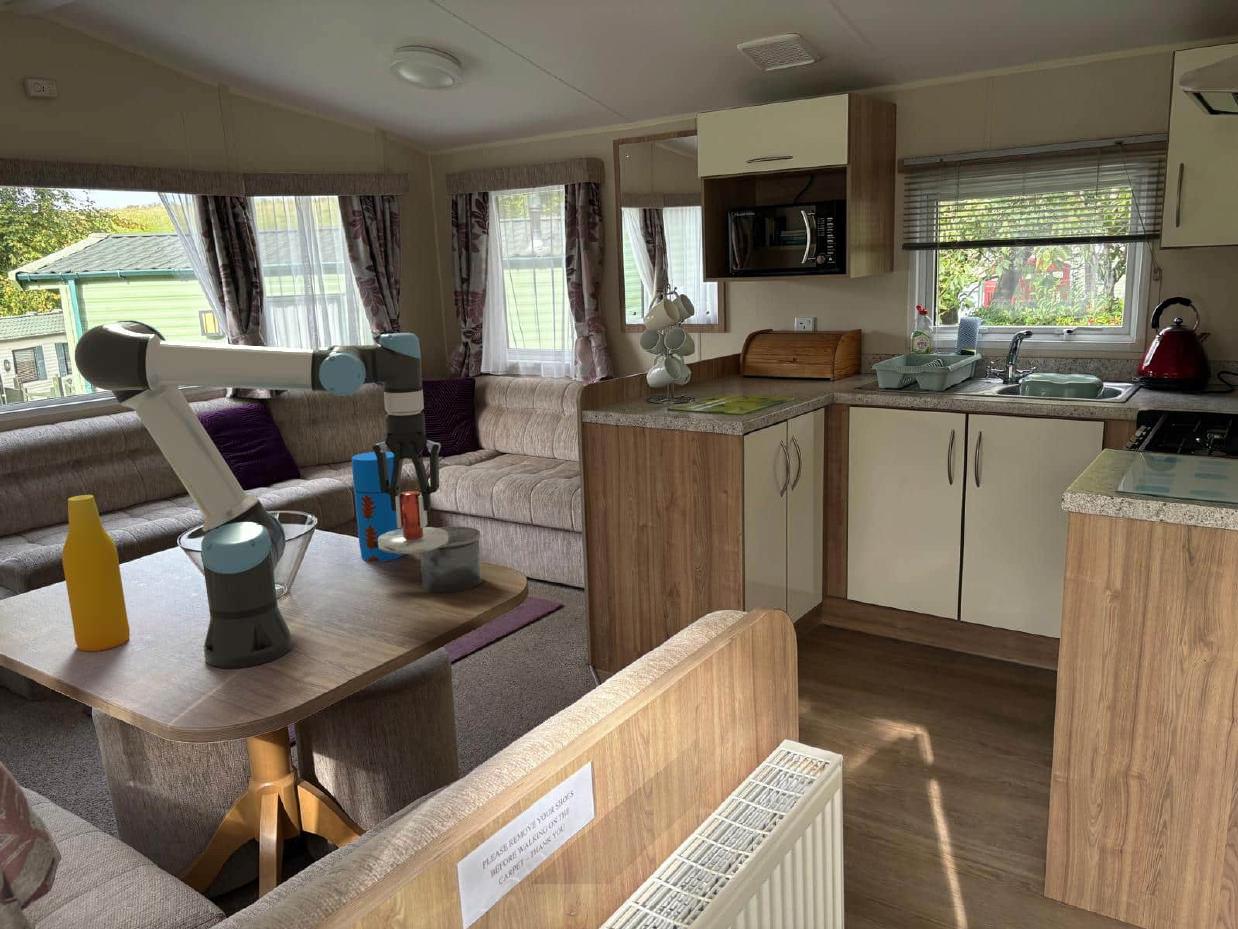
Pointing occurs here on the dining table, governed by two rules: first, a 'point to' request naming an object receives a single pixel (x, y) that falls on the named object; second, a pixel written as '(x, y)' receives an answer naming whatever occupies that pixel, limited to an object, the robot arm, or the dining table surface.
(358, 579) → the dining table surface
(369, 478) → the thermos
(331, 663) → the dining table surface
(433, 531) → the lid
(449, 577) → the pot
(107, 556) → the beer bottle
